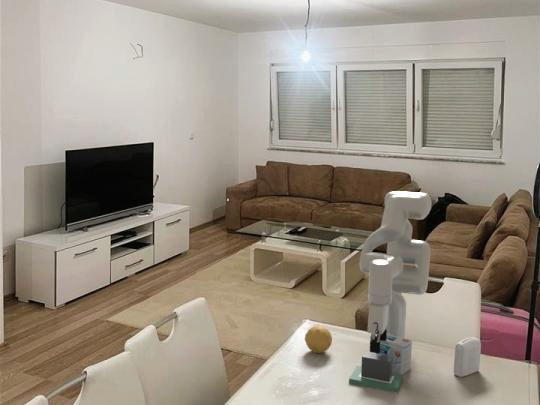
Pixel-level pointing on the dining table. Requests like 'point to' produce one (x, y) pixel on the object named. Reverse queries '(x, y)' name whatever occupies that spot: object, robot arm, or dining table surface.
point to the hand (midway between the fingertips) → (378, 346)
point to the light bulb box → (397, 352)
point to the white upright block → (467, 357)
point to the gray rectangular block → (376, 366)
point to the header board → (376, 381)
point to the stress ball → (318, 339)
